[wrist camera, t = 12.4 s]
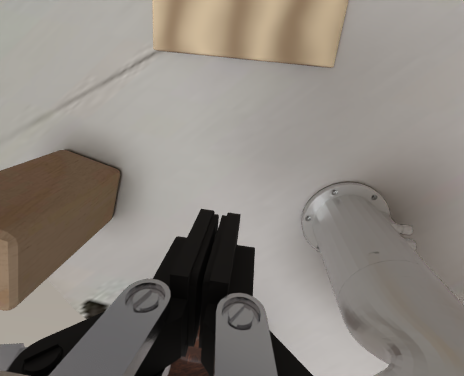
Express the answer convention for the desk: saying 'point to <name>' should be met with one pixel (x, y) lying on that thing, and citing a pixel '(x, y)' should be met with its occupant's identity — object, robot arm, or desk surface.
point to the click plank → (251, 29)
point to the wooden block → (49, 217)
